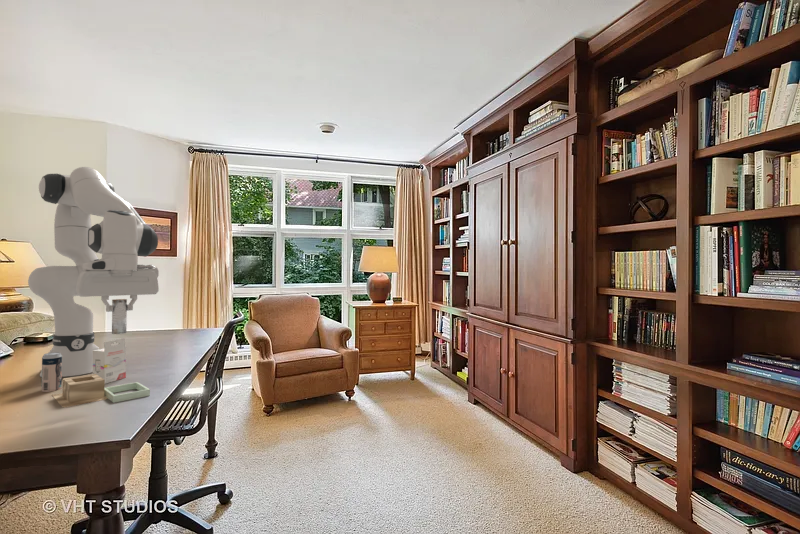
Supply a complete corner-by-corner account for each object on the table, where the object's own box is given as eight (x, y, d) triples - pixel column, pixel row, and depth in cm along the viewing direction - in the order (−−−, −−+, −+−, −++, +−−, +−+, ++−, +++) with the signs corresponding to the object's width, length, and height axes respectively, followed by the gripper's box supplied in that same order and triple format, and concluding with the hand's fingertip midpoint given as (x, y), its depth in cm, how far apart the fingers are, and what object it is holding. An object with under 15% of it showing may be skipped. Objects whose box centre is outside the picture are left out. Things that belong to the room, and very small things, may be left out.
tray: (102, 397, 124) (102, 388, 124) (137, 390, 131) (137, 382, 131) (113, 406, 117) (113, 396, 117) (149, 398, 124) (149, 389, 124)
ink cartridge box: (114, 379, 144) (114, 336, 144) (126, 380, 143) (127, 337, 143) (91, 386, 136) (91, 341, 136) (103, 387, 135) (104, 341, 135)
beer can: (62, 392, 128) (63, 353, 128) (42, 396, 125) (43, 356, 125) (60, 389, 132) (60, 351, 132) (40, 392, 128) (40, 353, 128)
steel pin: (110, 333, 123) (110, 299, 123) (124, 332, 126) (124, 298, 126) (113, 334, 121) (114, 300, 121) (128, 333, 123) (128, 299, 123)
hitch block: (51, 398, 123) (52, 377, 123) (100, 389, 132) (100, 370, 132) (63, 411, 112) (63, 389, 112) (115, 401, 121) (115, 380, 121)
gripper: (155, 265, 133) (154, 308, 133) (75, 264, 118) (74, 312, 118) (162, 264, 129) (161, 309, 129) (80, 263, 114) (79, 314, 114)
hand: (119, 311), depth 123 cm, fingers closed on steel pin, 4 cm apart
